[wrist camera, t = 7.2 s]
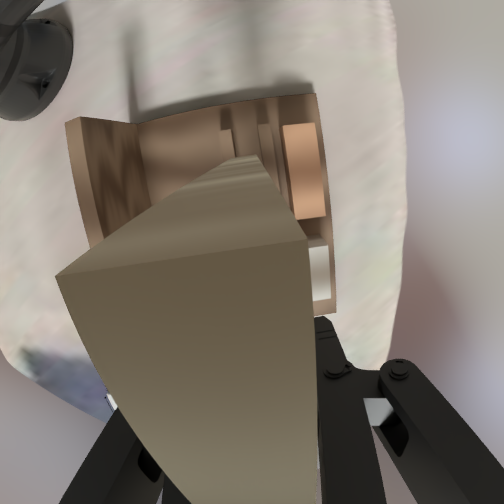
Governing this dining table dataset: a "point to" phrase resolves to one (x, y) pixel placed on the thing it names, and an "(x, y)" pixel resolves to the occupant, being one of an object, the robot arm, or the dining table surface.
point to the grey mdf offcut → (319, 267)
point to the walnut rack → (186, 161)
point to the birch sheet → (209, 336)
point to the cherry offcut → (303, 170)
